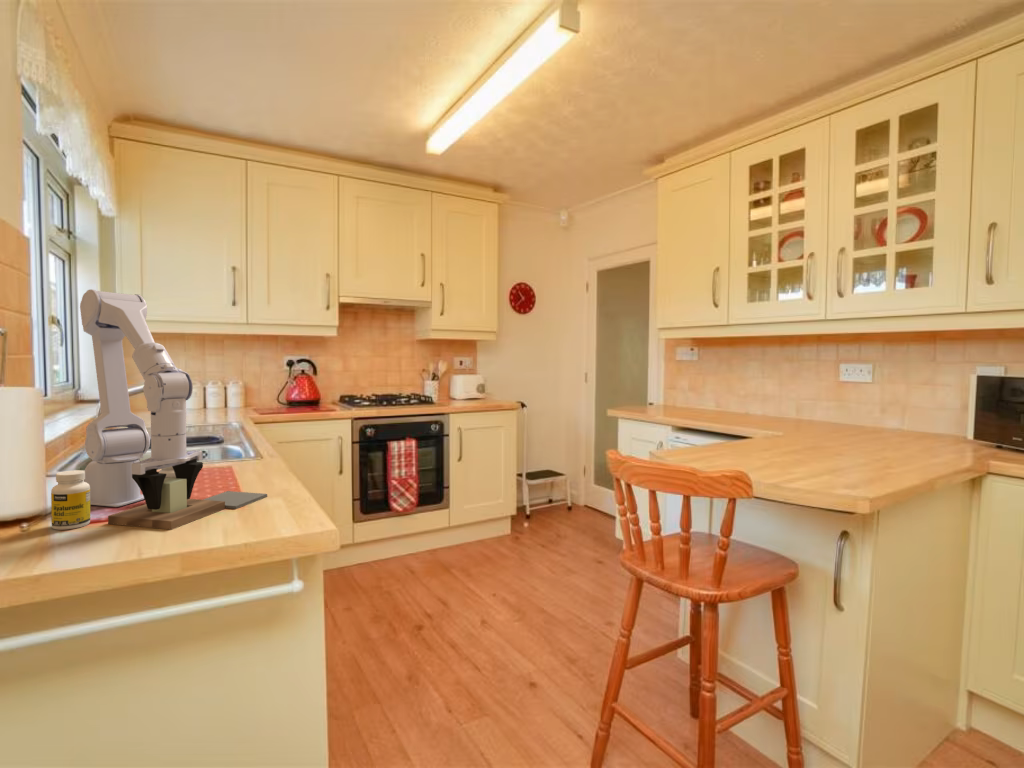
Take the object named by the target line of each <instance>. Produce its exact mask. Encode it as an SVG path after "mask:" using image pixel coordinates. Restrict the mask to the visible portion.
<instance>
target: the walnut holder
mask: <svg viewBox="0 0 1024 768" xmlns="http://www.w3.org/2000/svg"><path fill="white" fill-rule="evenodd" d="M223 510H226V508H225V501H213V500H203V499H198V498H197V499H196V498H190V499H187V508H184V509H181V510H178V511H175V512H173V513H161V512H152V509H148V508H147V505H146V503H145V504H142V505H138V506H136V507H132V508H128V509H126V510H123V511H120V512H117V513H113V514H109V515H107V525H115V526H116V525H118V526H126V527H127V526H129V527H139V528H151V529H161V530H174V529H177V528H179V527H181V526H184V525H187V524H189V523H192V522H194V521H196V520H199V519H202V518H204V517H207V516H209V515H213V514H215V513H218V512H220V511H223Z"/></svg>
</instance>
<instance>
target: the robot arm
mask: <svg viewBox="0 0 1024 768" xmlns="http://www.w3.org/2000/svg"><path fill="white" fill-rule="evenodd" d="M79 309H80V310H79V311H80V317H81V325H82V329H83V330H82V331H83V332H84V333H86V334H88V335H90V336H91V340H92V346H93V347H92V349H93V355H94V356H93V357H94V363H95V373H96V381H97V388H98V389H97V390H98V397H99V404H100V413H101V414H100V415H98V416H97V417H96V418H95V419H93V420H92V421H90V423H89V424H88V425H87V426H86V428H85V430H86V431H85V434H86V436H85V441H84V448H85V452H86V455H87V457H88V458H89V459H91V460H92V461H90V462H89V463H88V464H87V465H86V467H85V468H84V471H85V479H84V480H83V481H84V482H86V483H88V484H89V485H90V506H101V507H115V508H117V507H119V508H120V507H122V506H126V505H129V504H134V503H137V502H139V501H142V500H144V501H145V504H146V505H147V508H148V509H153V510H157V509H160V506H161V493H162V486H163V483H164V479H165V477H166V474H163V473H159V470H161V469H162V468H167V467H171V466H172V467H173V470H174V472H175V476H176V478H181V479H187V499H191V496H192V492H193V490H194V485H195V483H196V480H197V478H198V476H199V474H200V472H201V471H202V469H203V467H204V462H201V461H202V460H203V451H202V450H197V449H196V450H195V449H193V450H188V451H187V401H189V399H190V398H191V397H192V394H193V390H194V388H193V386H194V385H193V380H192V378H191V375H190V374H189V372H187V371H184V370H183V369H182V368H178V367H177V366H176V364H175V363H174V361H173V359H172V356H170V354H169V352H168V351H167V349H166V348H165V346H164V345H163V344H161V343H158V342H155V340H154V337H153V335H152V333H151V330H150V328H149V326H148V322H147V320H146V319H147V314H148V305H147V301H146V300H145V299H144V297H143V296H142V295H140V294H131V293H130V294H129V293H120V292H111V291H102V290H101V291H100V290H96V289H87V290H86V292H85V293H83V295H82V297H81V301H80V303H79ZM125 337H126V339H127V340H128V342H129V343H130V344H131V346H132V347H133V349H134V350H133V352H132V359H133V362H134V363H135V365H136V367H137V369H138V371H139V373H140V374H141V376H142V378H143V380H144V383H143V386H142V387H143V389H142V390H143V395H144V397H145V400H146V408H147V411H148V412H150V434H149V432H148V430H147V427H146V423H145V420H144V418H142V417H140V416H138V415H137V414H134V413H133V412H132V410H131V403H130V402H131V401H130V396H129V395H130V394H129V389H128V388H129V387H128V381H127V380H128V379H127V378H128V377H127V372H126V371H127V370H126V364H125V355H124V346H123V341H124V340H123V339H124V338H125ZM121 427H122V428H121ZM123 427H124V428H123ZM149 448H150V455H151V456H150V457H147V458H146V459H143V458H144V455H145V454H146V453H147V452H148V450H149ZM141 459H142V460H141ZM140 460H141V461H140Z"/></svg>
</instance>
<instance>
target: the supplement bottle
mask: <svg viewBox="0 0 1024 768" xmlns="http://www.w3.org/2000/svg"><path fill="white" fill-rule="evenodd" d="M84 479H85V470H78V469H77V470H76V469H74V470H67V471H66V470H65V471H60V472H57V473H56V474H55V481H56V483H57V484H55V485H54V486H53V487H52V488H51V490H50V491H51V492H50V495H51V496H50V499H51V500H50V503H51V507H50V508H51V519H50V520H51V528H52V529H53V530H56V531H57V530H58V531H65V530H73V529H79V528H83V527H85V526H88V525H89V524H90V523H91V505H90V485H89V484H88V483H86V482H84Z"/></svg>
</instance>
